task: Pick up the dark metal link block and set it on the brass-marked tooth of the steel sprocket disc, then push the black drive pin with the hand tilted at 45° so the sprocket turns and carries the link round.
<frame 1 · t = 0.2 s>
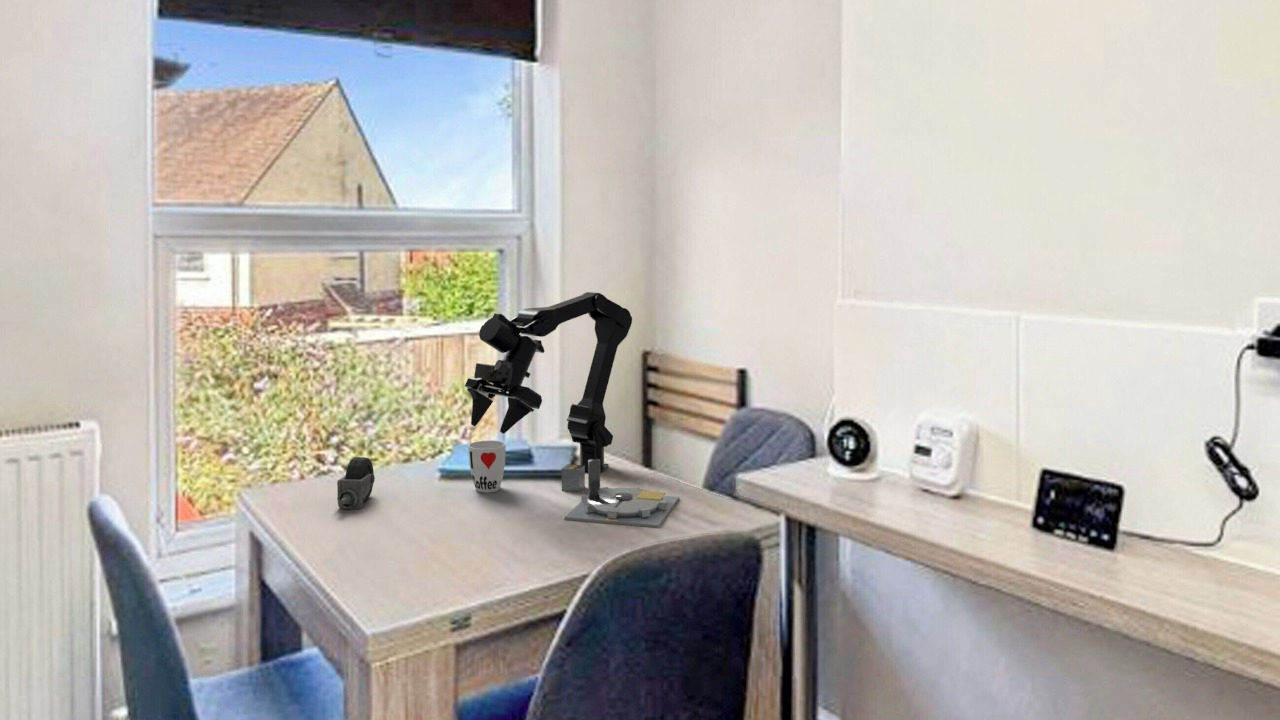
hand: (487, 429, 190), 15 cm above the table, tool tilted 30°, fingers open, 9 cm apart
link block: (573, 489, 199), on the table
cup: (487, 490, 198), on the table
caster wheel: (355, 505, 187), on the table
base plate: (623, 508, 184), on the table
sprocket: (623, 482, 184), point 6 cm above the table, hinge at 0.0°
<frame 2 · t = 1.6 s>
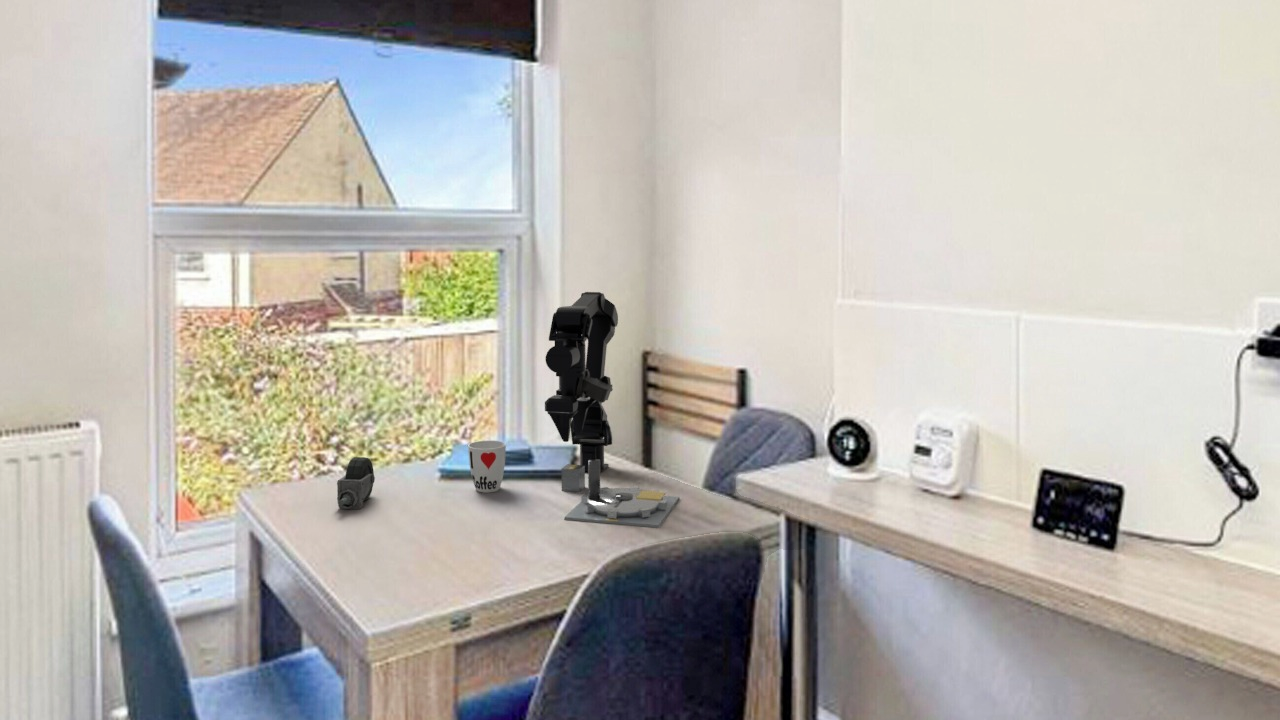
hand: (572, 436, 197), 12 cm above the table, tool pointing down, fingers open, 9 cm apart
nothing on the table moved.
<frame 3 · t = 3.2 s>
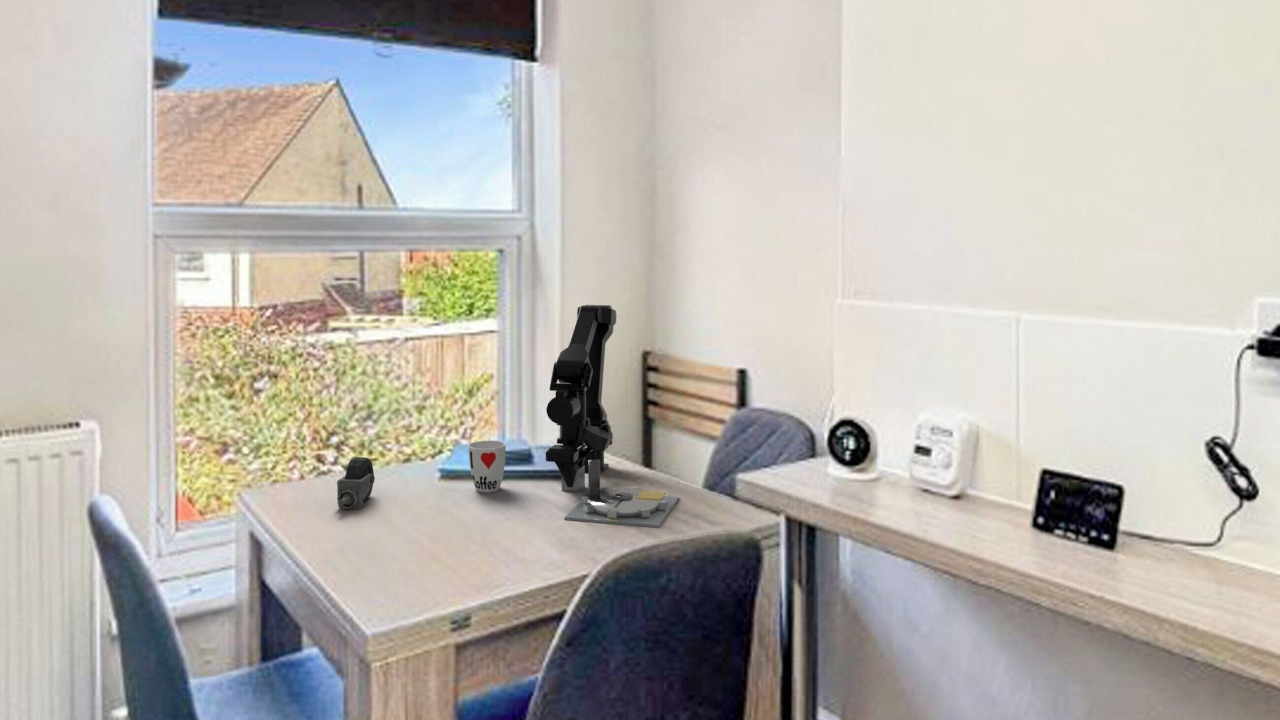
hand: (573, 484, 198), 1 cm above the table, tool pointing down, fingers closed on link block, 4 cm apart
link block: (573, 488, 198), on the table, touching gripper
everything else where it was.
when the fingers open (5 cm above the table, at t = 6.8 s): link block drops 1 cm, resting on sprocket.
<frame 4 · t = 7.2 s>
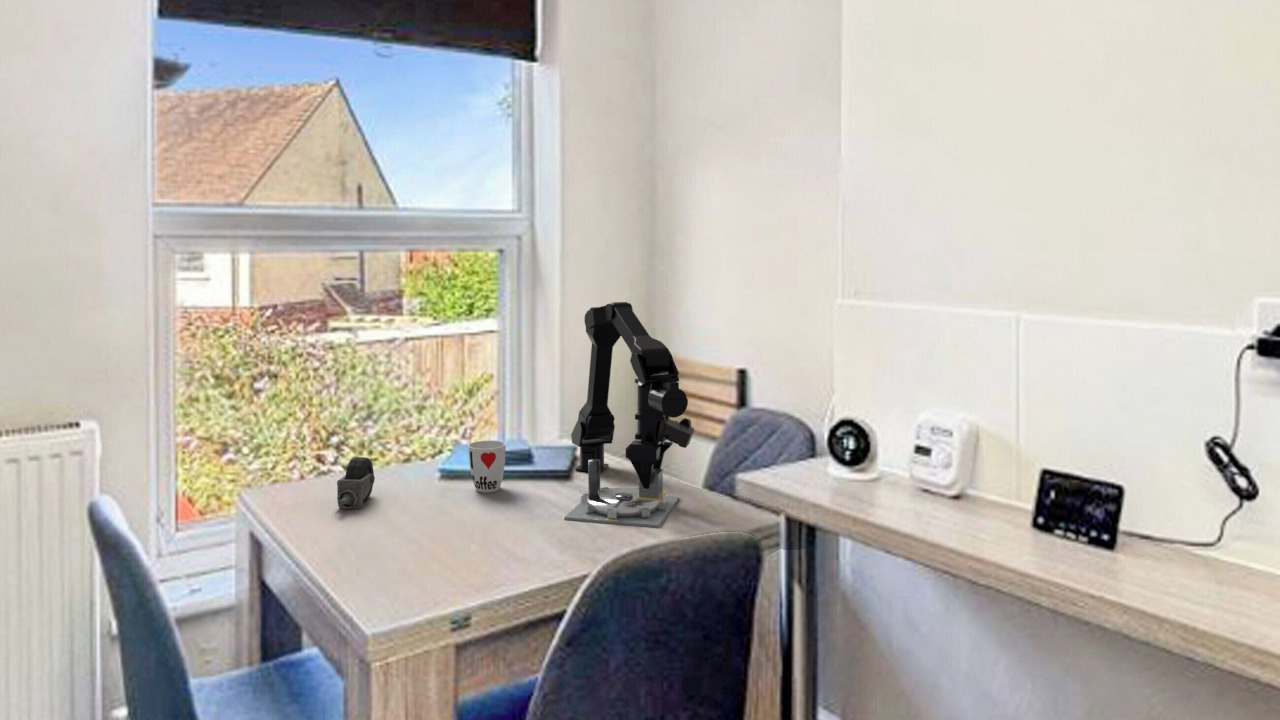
hand: (651, 483, 185), 5 cm above the table, tool pointing down, fingers open, 8 cm apart
link block: (650, 494, 186), point 2 cm above the table, touching sprocket
sprocket: (623, 482, 184), point 6 cm above the table, hinge at 0.0°, touching link block
everything else where it was.
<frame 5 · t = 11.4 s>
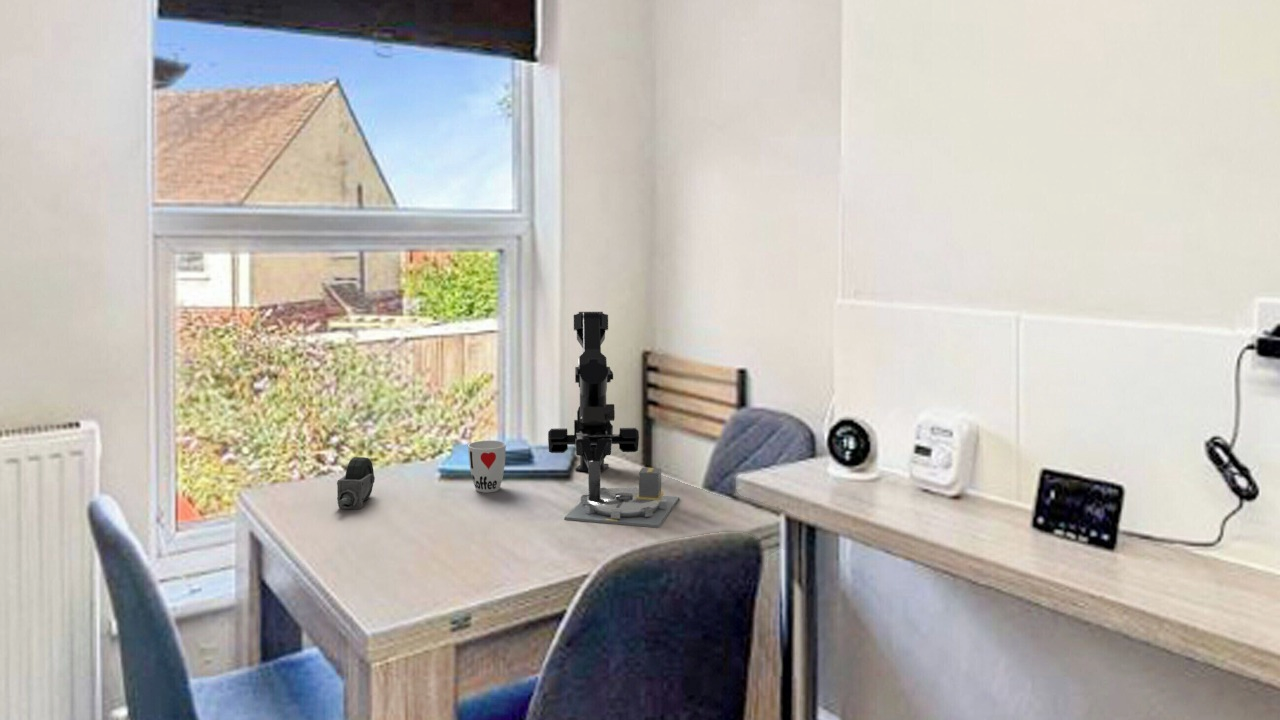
hand: (594, 475, 184), 7 cm above the table, tool tilted 45°, fingers closed, pressing on sprocket
sprocket: (623, 482, 184), point 6 cm above the table, hinge at 4.5°, touching gripper, link block
everything else where it was.
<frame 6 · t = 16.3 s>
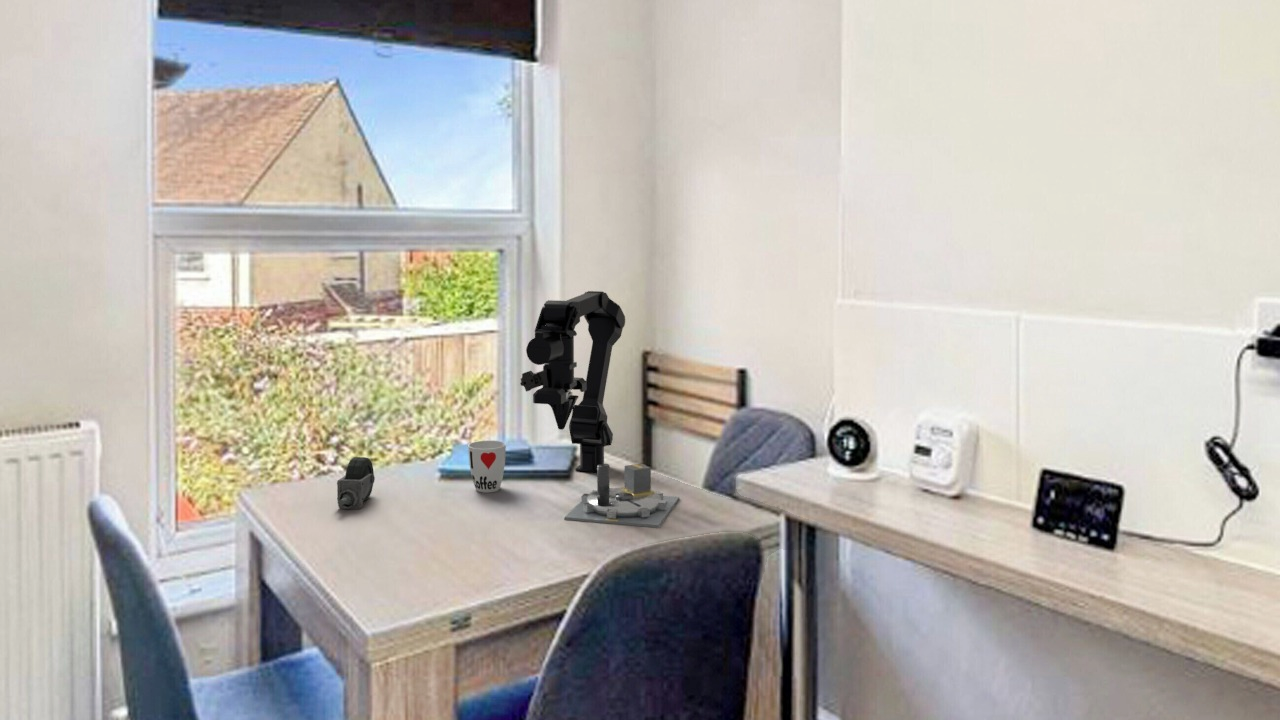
hand: (561, 429, 198), 13 cm above the table, tool pointing down, fingers closed
link block: (637, 490, 189), point 2 cm above the table, touching sprocket
sprocket: (623, 482, 184), point 6 cm above the table, hinge at 44.2°, touching link block
everything else where it was.
at the end: sprocket at +44° (first picture: +0°); link block touching sprocket; link block 5.8 cm from the sprocket (horizontally) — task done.
